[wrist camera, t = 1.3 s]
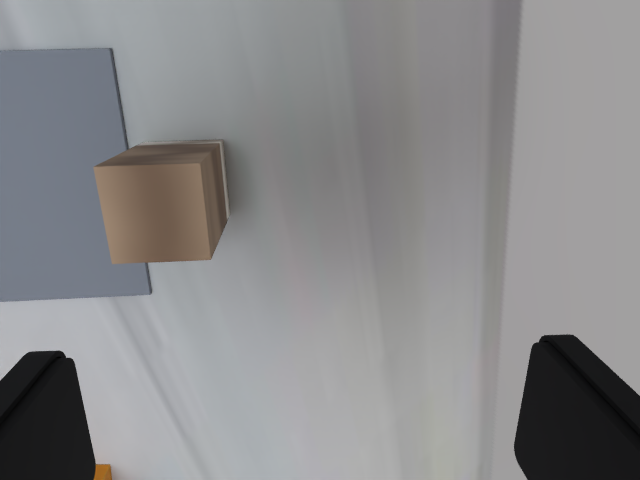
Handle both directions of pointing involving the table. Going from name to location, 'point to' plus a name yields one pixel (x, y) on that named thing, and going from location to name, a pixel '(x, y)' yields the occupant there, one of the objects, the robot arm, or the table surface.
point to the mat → (59, 176)
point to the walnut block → (164, 201)
